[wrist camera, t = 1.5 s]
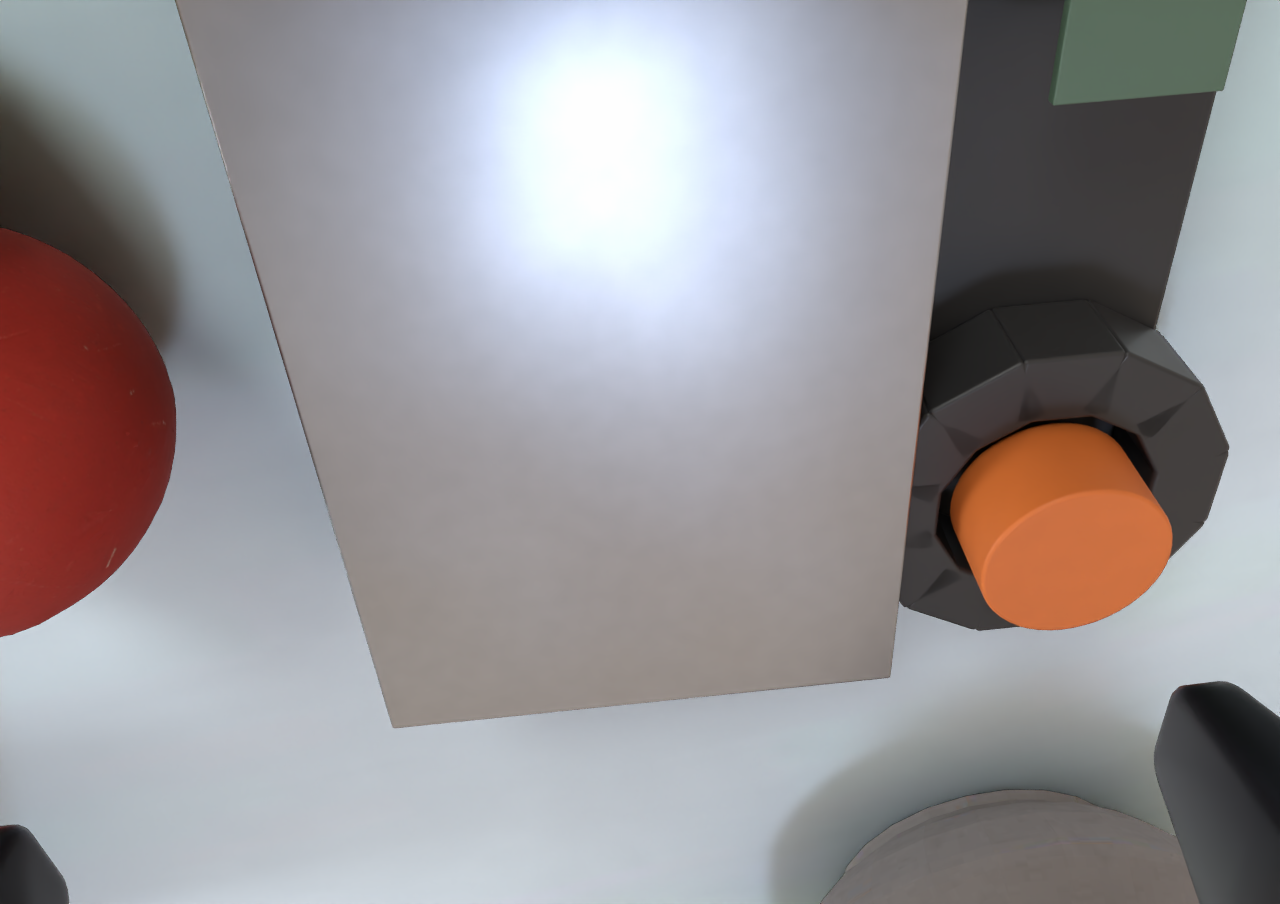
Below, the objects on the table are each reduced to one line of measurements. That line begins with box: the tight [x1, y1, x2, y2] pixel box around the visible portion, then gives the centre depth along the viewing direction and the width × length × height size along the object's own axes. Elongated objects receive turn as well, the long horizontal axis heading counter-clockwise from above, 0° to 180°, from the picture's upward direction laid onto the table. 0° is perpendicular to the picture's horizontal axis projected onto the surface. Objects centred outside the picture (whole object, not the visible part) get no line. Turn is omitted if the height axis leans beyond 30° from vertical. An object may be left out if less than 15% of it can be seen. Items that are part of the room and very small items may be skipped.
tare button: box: [950, 423, 1173, 630], centre depth 19 cm, size 3×3×2 cm
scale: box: [899, 0, 1229, 631], centre depth 16 cm, size 18×15×3 cm
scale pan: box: [175, 0, 968, 728], centre depth 15 cm, size 20×9×1 cm, turn 3°
